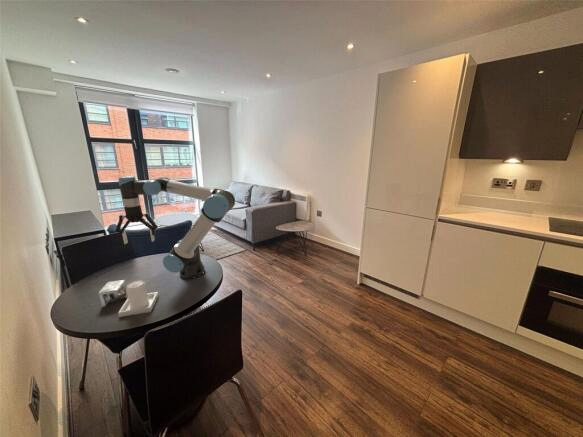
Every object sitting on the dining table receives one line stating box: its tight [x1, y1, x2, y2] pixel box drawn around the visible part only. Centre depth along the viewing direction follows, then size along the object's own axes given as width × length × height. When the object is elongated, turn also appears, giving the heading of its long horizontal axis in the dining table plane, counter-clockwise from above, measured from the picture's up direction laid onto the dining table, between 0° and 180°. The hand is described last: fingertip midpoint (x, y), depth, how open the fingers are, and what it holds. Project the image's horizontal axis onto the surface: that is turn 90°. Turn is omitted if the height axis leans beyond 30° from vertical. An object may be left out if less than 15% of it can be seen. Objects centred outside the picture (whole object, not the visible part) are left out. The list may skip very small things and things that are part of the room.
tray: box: [117, 291, 159, 318], centre depth 118 cm, size 14×14×3 cm
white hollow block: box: [98, 279, 127, 308], centre depth 123 cm, size 10×10×8 cm
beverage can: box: [126, 279, 149, 309], centre depth 117 cm, size 8×8×12 cm
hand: (139, 242), depth 131 cm, fingers open, 13 cm apart
